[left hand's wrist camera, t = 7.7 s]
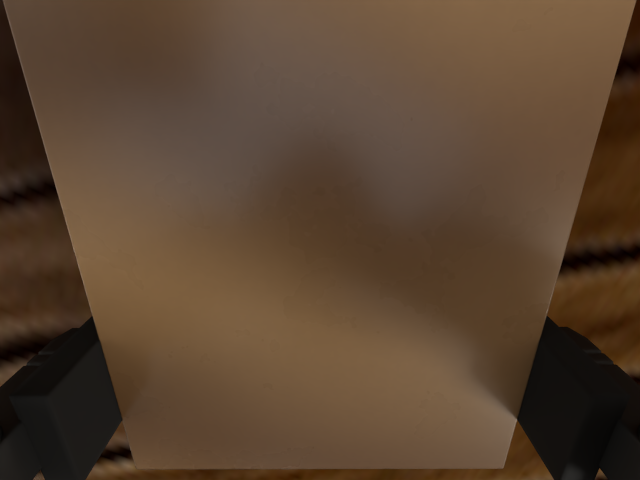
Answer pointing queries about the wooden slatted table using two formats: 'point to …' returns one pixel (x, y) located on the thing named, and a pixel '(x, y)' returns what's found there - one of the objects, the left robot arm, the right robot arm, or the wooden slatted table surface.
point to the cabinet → (319, 213)
